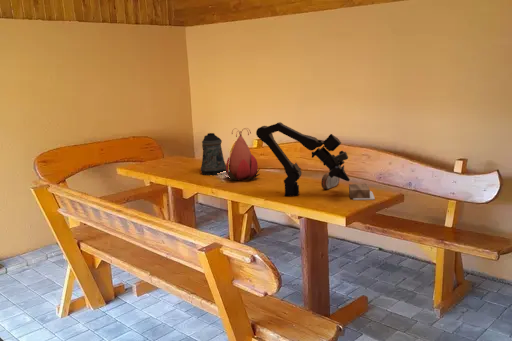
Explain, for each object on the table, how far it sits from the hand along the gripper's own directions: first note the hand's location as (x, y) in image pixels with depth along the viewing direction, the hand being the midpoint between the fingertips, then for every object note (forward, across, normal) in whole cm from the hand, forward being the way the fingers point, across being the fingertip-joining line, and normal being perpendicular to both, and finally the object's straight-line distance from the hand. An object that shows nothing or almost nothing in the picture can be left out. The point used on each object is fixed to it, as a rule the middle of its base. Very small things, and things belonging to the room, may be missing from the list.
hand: (349, 180), depth 233 cm
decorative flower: (-40, +32, +53) cm, 73 cm away
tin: (-2, +16, +14) cm, 21 cm away
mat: (+10, +1, +1) cm, 10 cm away
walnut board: (+4, 0, +3) cm, 5 cm away
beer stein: (-57, +49, +70) cm, 103 cm away
